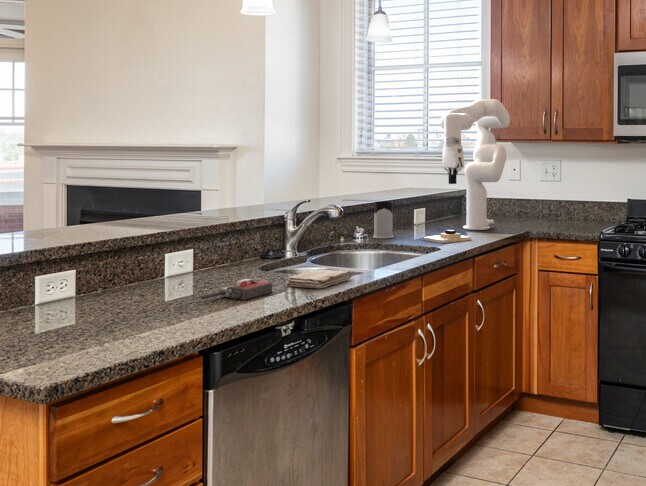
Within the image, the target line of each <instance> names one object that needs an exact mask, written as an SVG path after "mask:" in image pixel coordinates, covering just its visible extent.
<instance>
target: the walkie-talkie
mask: <svg viewBox="0 0 646 486" xmlns="http://www.w3.org/2000/svg"><path fill="white" fill-rule="evenodd" d="M272 293H273V282H272V281H271V280H265V279H261V278H253V279H252V278H242V279H240V280H239V279H238V280H236V281H235V282H234V285H231V286H226V287H221V288H220V290H219V291H215V292H210V293H207V294H203V295H201V296H200V299H201V300H205V299H210V298H214V297H218V296H221V297H222V296H223V297H226V298H228V299H234V300H240V301H246V300H249V299H254V298H258V297H261V296H265V295H268V294H269V295H270V294H272Z"/></svg>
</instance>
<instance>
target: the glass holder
mask: <svg viewBox="0 0 646 486" xmlns="http://www.w3.org/2000/svg"><path fill="white" fill-rule="evenodd" d="M393 216H394V215H393V201H374V214H373V222H374V223H373V227H374V228H373V229H374V231H373V232H374V233H373V237H372V238H374V239H392V238H394V235H393V224H394V223H393V222H394V221H393V218H394V217H393Z"/></svg>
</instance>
